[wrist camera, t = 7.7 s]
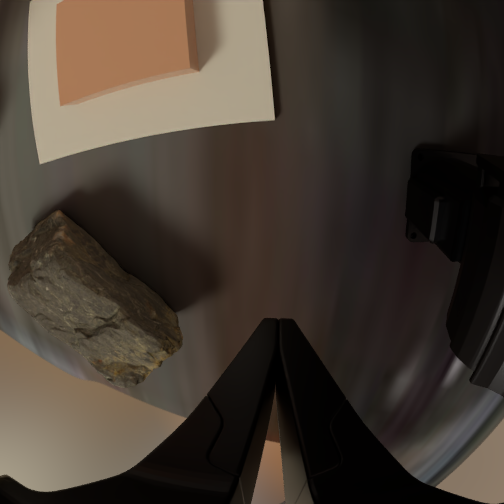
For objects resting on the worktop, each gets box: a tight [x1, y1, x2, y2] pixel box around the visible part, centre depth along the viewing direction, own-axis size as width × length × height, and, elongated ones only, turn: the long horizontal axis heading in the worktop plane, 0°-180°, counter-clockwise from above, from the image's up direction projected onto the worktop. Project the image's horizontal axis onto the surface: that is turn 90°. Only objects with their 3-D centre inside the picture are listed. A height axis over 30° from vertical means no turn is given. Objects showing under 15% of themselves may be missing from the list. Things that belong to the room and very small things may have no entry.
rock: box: [7, 210, 183, 388], centre depth 20 cm, size 17×7×10 cm
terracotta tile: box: [56, 0, 199, 106], centre depth 13 cm, size 2×8×9 cm
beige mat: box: [28, 0, 275, 164], centre depth 14 cm, size 18×15×1 cm
